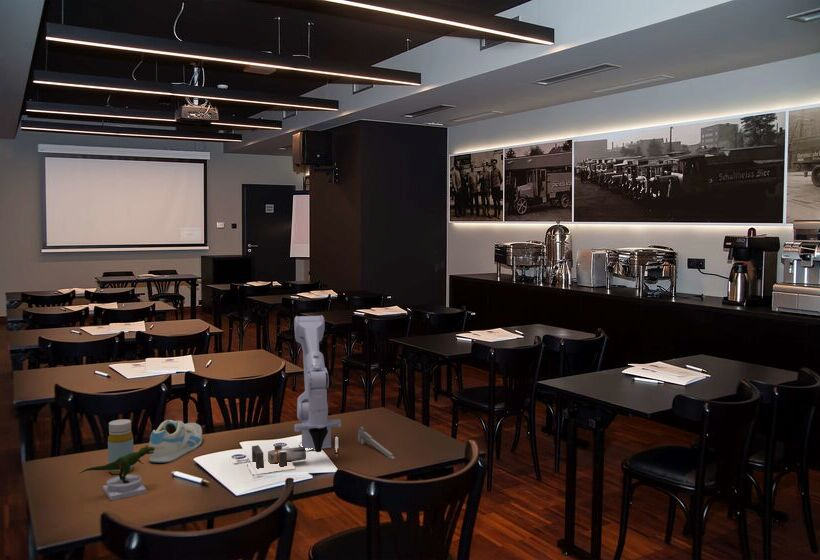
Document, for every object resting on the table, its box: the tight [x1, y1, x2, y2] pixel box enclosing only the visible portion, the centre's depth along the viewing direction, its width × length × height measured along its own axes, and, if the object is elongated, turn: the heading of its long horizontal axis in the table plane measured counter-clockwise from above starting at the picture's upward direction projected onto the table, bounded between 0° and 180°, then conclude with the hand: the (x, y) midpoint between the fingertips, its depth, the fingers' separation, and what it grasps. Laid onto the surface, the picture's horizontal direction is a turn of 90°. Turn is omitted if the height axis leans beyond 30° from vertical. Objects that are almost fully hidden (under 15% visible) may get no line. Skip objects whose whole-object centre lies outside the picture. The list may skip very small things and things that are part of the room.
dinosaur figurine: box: [79, 445, 155, 501], centre depth 187 cm, size 9×20×12 cm, turn 126°
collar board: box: [251, 444, 287, 469], centre depth 207 cm, size 13×9×6 cm
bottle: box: [107, 418, 135, 475], centre depth 204 cm, size 7×7×15 cm
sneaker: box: [148, 419, 203, 463], centre depth 222 cm, size 10×27×11 cm, turn 173°
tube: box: [267, 446, 307, 464], centre depth 209 cm, size 11×4×4 cm, turn 114°
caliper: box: [357, 426, 396, 460], centre depth 223 cm, size 20×1×6 cm, turn 37°
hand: (318, 451), depth 213 cm, fingers closed
